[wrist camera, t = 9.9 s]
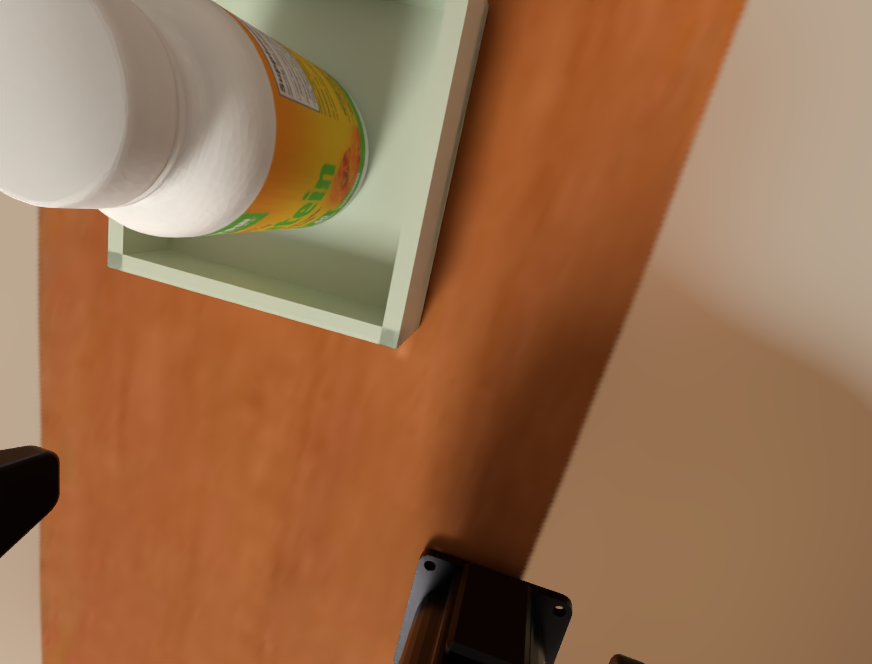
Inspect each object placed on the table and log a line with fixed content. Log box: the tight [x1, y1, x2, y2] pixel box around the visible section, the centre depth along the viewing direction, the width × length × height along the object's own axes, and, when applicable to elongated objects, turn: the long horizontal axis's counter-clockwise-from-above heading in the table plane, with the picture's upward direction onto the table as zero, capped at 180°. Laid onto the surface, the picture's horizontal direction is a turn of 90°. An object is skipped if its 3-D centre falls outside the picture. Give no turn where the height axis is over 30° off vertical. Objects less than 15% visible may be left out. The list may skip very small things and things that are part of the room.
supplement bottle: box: [0, 0, 369, 238], centre depth 13 cm, size 5×5×10 cm
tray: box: [108, 0, 489, 349], centre depth 17 cm, size 11×11×3 cm
